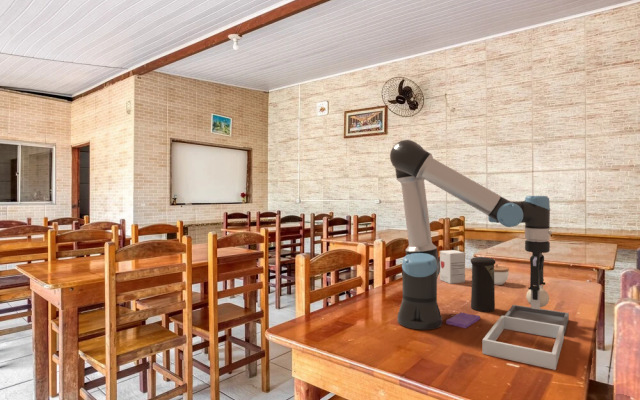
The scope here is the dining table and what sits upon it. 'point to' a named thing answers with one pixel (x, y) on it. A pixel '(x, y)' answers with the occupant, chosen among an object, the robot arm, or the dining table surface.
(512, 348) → the light grey rectangular frame
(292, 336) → the dining table surface
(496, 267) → the lidded jar
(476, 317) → the sponges
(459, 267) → the supplement box
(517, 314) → the slate tray
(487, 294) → the container
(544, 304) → the cream round ball
